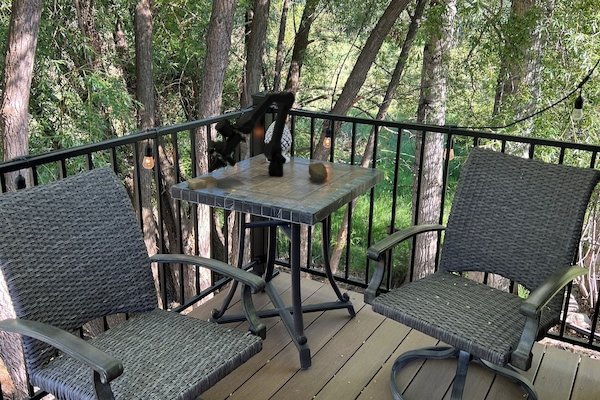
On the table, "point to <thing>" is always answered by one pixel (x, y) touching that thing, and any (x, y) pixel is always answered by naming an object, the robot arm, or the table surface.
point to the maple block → (202, 183)
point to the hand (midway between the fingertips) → (208, 171)
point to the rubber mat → (228, 183)
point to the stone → (318, 171)
